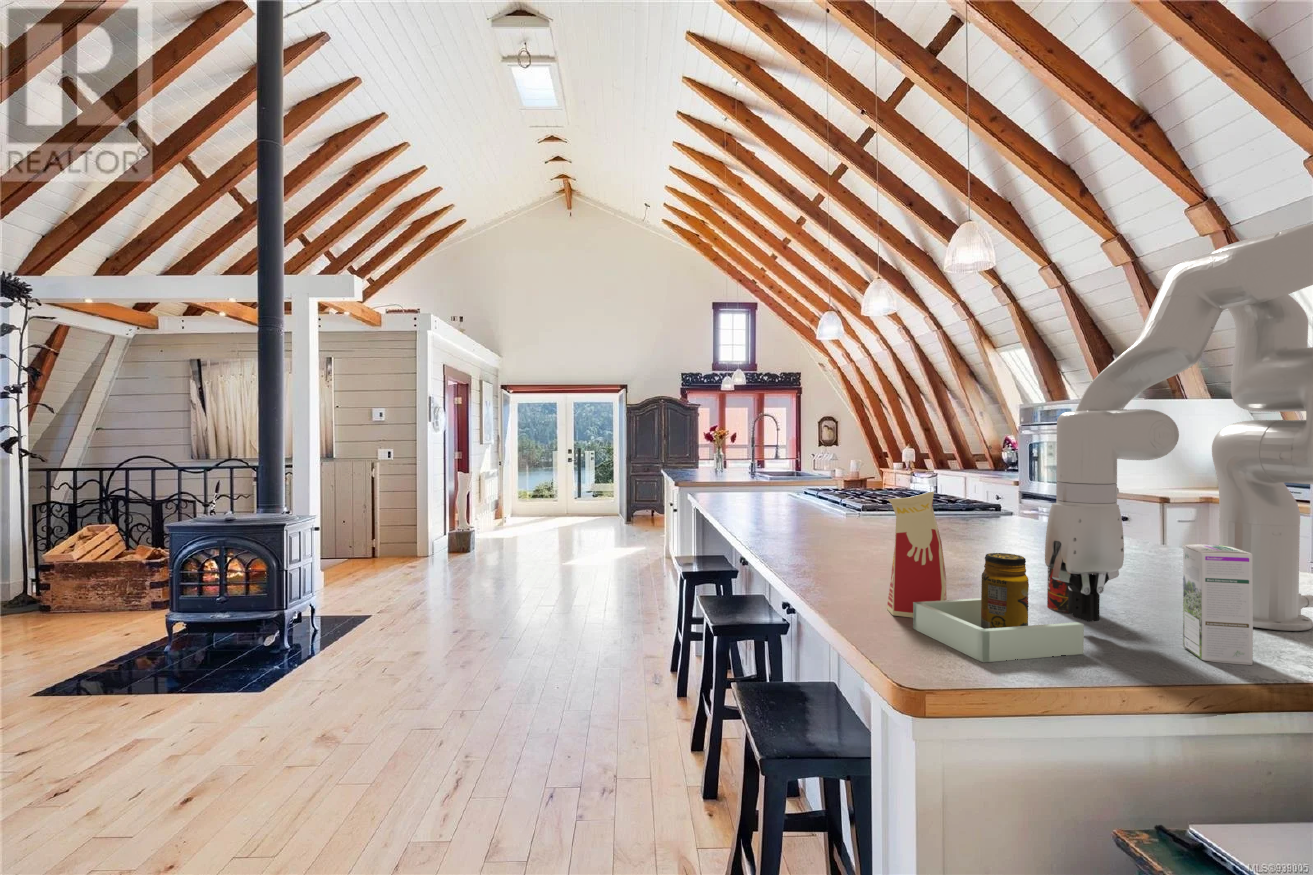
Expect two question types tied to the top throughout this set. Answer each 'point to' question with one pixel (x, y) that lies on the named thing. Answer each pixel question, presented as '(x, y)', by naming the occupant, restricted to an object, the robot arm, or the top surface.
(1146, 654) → the top surface
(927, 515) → the milk carton
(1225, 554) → the syrup box
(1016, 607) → the condiment
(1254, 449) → the robot arm
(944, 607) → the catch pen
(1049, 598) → the deodorant
